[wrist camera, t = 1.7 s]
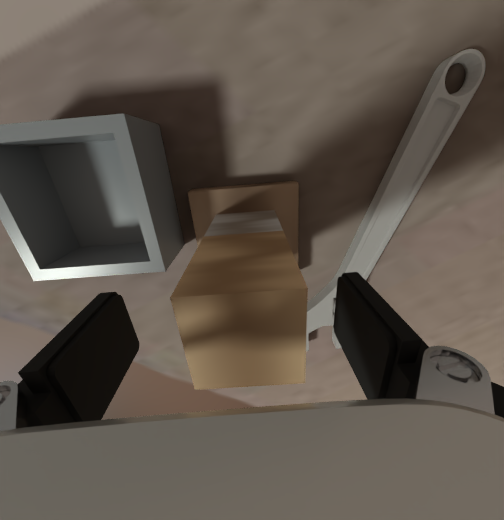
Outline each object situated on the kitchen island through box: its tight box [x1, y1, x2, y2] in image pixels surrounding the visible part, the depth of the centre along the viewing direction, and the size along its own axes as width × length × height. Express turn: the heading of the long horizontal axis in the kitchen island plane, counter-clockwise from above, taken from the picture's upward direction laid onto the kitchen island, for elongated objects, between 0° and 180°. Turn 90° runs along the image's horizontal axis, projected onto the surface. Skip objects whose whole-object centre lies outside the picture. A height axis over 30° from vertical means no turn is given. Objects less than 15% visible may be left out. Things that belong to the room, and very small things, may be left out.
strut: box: [170, 210, 308, 390], centre depth 13 cm, size 4×4×11 cm
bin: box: [0, 113, 184, 281], centre depth 16 cm, size 9×9×5 cm
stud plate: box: [188, 181, 299, 264], centre depth 17 cm, size 8×8×6 cm
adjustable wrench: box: [306, 49, 486, 351], centre depth 20 cm, size 25×6×2 cm, turn 159°
